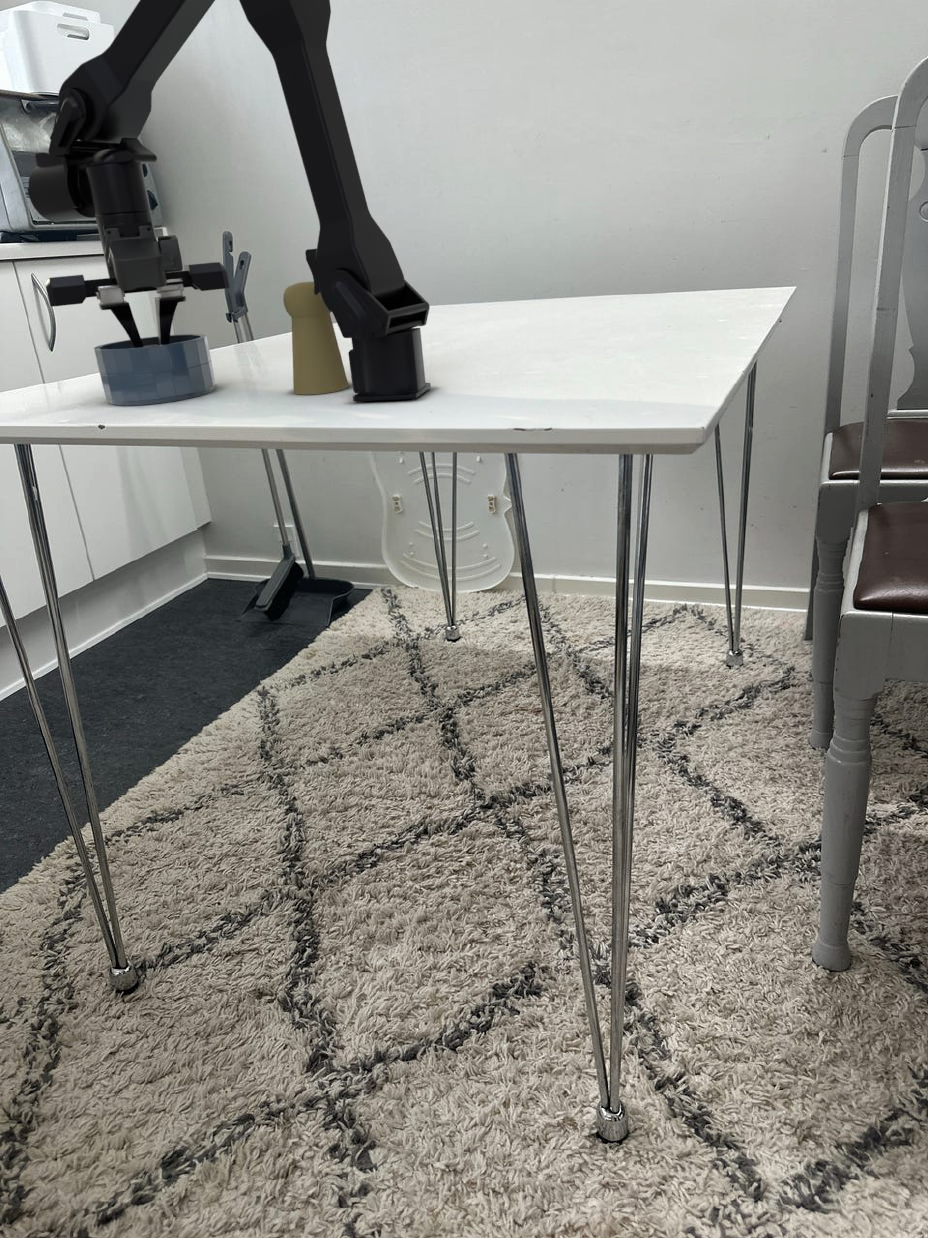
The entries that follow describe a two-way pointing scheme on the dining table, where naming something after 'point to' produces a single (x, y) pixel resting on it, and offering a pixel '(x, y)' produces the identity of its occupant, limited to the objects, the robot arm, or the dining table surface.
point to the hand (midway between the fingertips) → (155, 364)
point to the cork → (313, 343)
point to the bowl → (155, 370)
